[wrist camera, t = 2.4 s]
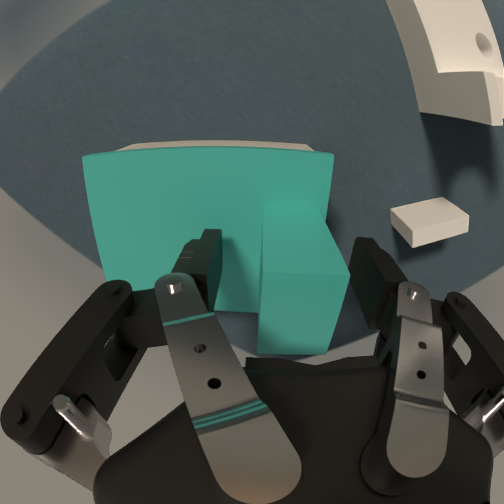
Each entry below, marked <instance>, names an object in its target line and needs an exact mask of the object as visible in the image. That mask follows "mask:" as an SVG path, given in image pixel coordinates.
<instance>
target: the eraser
mask: <svg viewBox="0 0 504 504" xmlns="http://www.w3.org/2000/svg"><path fill="white" fill-rule="evenodd" d="M390 215H391V224H392V226H393V227H394V228H395V229H396V230H397V231H398V232H399V233H400V234H401V235H402V237H403V238H404V239H405V240H406V241H407V242H408V243H409V245H410V246H411V247H412V248H414V247H418V246H421V245H425V244H428V243H432V242H435V241H439V240H442V239H446V238H449V237H452V236H456V235H459V234H462V233H465V232H468V225H469V215H468V214H466V213H465V212H463V211H462V210H461V209H459V208H458V207H457V206H455V205H454V204H452V203H451V202H449V201H448V200H446V199H445V198H443V197H439V198H435V199H430V200H426V201H422V202H417V203H413V204H409V205H404V206H400V207H396V208H391V209H390Z"/></svg>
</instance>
